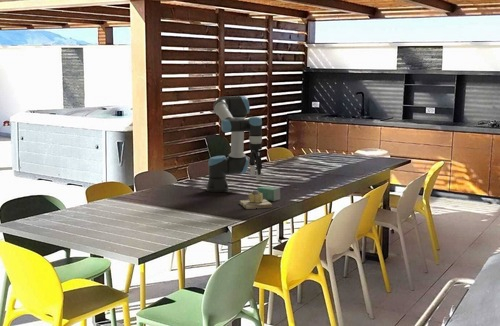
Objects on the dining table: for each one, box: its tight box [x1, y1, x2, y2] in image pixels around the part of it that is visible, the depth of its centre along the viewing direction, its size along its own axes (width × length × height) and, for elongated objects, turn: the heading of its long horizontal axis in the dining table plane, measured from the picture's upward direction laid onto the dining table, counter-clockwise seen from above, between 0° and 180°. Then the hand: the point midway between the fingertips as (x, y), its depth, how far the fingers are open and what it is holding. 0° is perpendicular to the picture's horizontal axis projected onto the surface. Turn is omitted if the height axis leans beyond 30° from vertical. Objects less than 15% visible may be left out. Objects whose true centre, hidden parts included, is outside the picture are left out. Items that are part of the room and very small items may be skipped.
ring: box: [248, 192, 263, 202], centre depth 361 cm, size 8×8×4 cm
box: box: [256, 185, 281, 202], centre depth 381 cm, size 7×14×8 cm, turn 52°
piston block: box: [239, 189, 273, 210], centre depth 361 cm, size 16×16×9 cm
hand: (255, 178), depth 360 cm, fingers open, 13 cm apart
